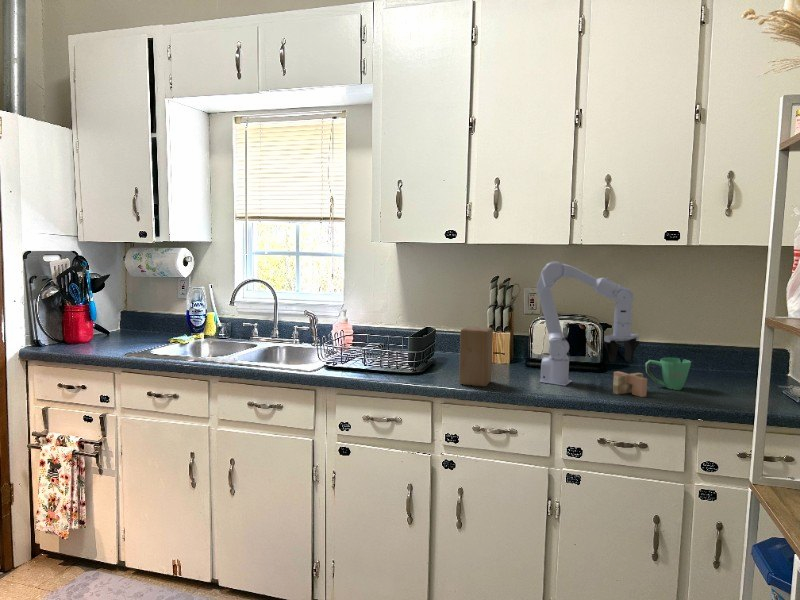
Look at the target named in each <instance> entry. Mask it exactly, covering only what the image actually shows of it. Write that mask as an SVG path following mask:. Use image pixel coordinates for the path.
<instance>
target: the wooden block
mask: <svg viewBox="0 0 800 600" xmlns="http://www.w3.org/2000/svg"><path fill="white" fill-rule="evenodd" d="M493 331H494V330H493V328H492V327H487V326H471V325H467V326H465V327H464V328H462V329H460V332H459V333H460V334H459V366H458V367H459V368H458V369H459V370H458V374H459V375H458V382H459V384H460V385H462V384H463V385H462V386H471V385H472V387H482V388H484V387H487V386H488V385H489V383H491V381H492V370H493V369H492V368H493V364H492V363H493V336H494V335H493V334H494V332H493Z"/></svg>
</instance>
